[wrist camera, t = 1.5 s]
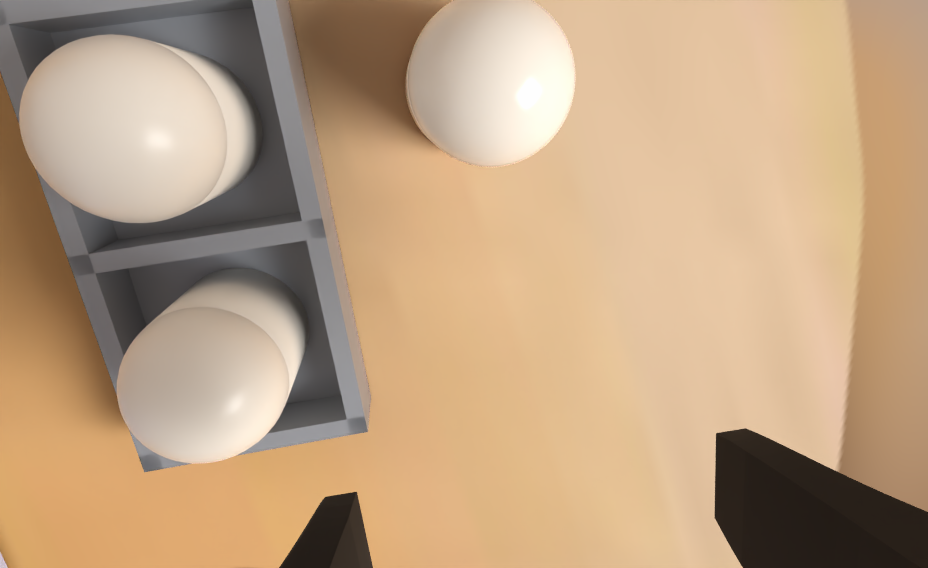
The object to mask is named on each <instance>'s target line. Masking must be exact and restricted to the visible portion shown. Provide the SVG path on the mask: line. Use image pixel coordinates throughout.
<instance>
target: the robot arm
mask: <svg viewBox="0 0 928 568" xmlns="http://www.w3.org/2000/svg"><path fill="white" fill-rule="evenodd" d="M715 519H716V521H717V523H718V525H719V526H720V528H721V530H722V532H723V534H724V536H725V538H726V539H727V541H728V543H729V545H730V547H731V548H732V550H733V552H734V553H735V555H736V557H737V559H738V560H739V562H740V564H741V565H742V567H743V568H928V512H926V511H924V510H921V509H919V508H917V507H914V506H912V505H910V504H907V503H905V502H903V501H900V500H898V499H895V498H893V497H891V496H889V495H886V494H884V493H882V492H880V491H877V490H875V489H873V488H871V487H869V486H866V485H864V484H862V483H860V482H858V481H856V480H853V479H851V478H849V477H847V476H845V475H843V474H841V473H839V472H837V471H834V470H832V469H830V468H828V467H826V466H824V465H822V464H820V463H818V462H816V461H814V460H812V459H810V458H808V457H806V456H804V455H802V454H800V453H798V452H795V451H793V450H791V449H789V448H787V447H785V446H783V445H781V444H779V443H777V442H775V441H773V440H771V439H769V438H766V437H764V436H762V435H760V434H758V433H755V432H753V431H750V430H748V429H740V430H734V431H727V432H721V433H716V473H715ZM0 568H8V567H7V565H6V563H5V561H4V559H3V557H2V555H1V553H0ZM279 568H373V566H372V561H371V557H370V552H369V547H368V543H367V538H366V533H365V528H364V524H363V519H362V514H361V510H360V505H359V500H358V495H357V492H353V493H347V494H341V495H334V496H328V497H325V498H324V499H323V501H322V502H321V503H320V505H319V506H318V508H317V510H316V511H315V513H314V514H313V516H312V518H311V519H310V521H309V523H308V524H307V526H306V527H305V529H304V531H303V532H302V534H301V535H300V537H299V539H298V540H297V542H296V543H295V545H294V546H293V548H292V550H291V551H290V553H289V554H288V556H287V557H286V559H285V560H284V562H283V563H282V564H281V566H280V567H279Z"/></svg>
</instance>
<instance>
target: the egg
mask: <svg viewBox="0 0 928 568" xmlns="http://www.w3.org/2000/svg"><path fill="white" fill-rule="evenodd" d="M574 90H575V65H574V58H573V54H572V51H571V47H570V45H569V42H568V40H567V37H566V35H565V34H564V32H563V30H562V28H561V27H560V25H559V24H558V23H557V21H556V20H555V19H554V18H553V16H552V15H551V14H550V13H549V12H548V11H547V10H545V9H544V8H543V7H542V6H540V5H539V4H538V3H536V2H534V1H533V0H453V1H451V2H449V3H448V4H447V5H445V6H444V7H443V8H441V9H440V10H439V11H438V12H437V13H436V14H435V15H434V16H433V17H432V18H431V19H430V20H429V21H428V23H427V24H426V25H425V27H424V28H423V30H422V31H421V33H420V35H419V36H418V38H417V41H416V43H415V45H414V48H413V51H412V54H411V57H410V61H409V64H408V67H407V72H406V79H405V91H406V99H407V103H408V107H409V110H410V113H411V115H412V117H413V119H414V121H415V123H416V125H417V126H418V128H419V129H420V130H421V132H422V133H423V134H424V135H425V136H426V137H427V138H428V139H429V140H430V141H431V142H432V143H433V144H435V145H436V146H437V147H438V148H439V149H440V150H441V151H443V152H444V153H446V154H447V155H449V156H450V157H452V158H454V159H456V160H459V161H461V162H464V163H467V164H470V165H475V166H480V167H501V166H507V165H511V164H514V163H517V162H520V161H523V160H524V159H526V158H528V157H530V156H532V155H533V154H535V153H536V152H538V151H539V150H541V149H542V148H543V147H544V146H545V145H546V144H548V143H549V142H550V141H551V139H552V138H553V137H554V136H555V135H556V134H557V132H558V131H559V129H560V128H561V126H562V125H563V123H564V121H565V119H566V117H567V115H568V113H569V110H570V107H571V104H572V100H573V96H574Z"/></svg>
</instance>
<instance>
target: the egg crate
mask: <svg viewBox="0 0 928 568" xmlns="http://www.w3.org/2000/svg"><path fill="white" fill-rule="evenodd" d="M0 72H1V75H2V78H3V80H4V83H5V86H6V89H7V91H8V94H9V97H10V100H11V103H12V105H13V108H14V111H15V114H16V116H17V119H18V122H19V125H20V131H21V137H22V140H23V143H24V147H25V149H26V151H27V154H28V156H29V158H30V160H31V162H32V163H33V165H34V167H35V169H36V172H37V175H38V178H39V180H40V183H41V186H42V189H43V191H44V194H45V197H46V200H47V203H48V205H49V208H50V211H51V214H52V216H53V219H54V222H55V225H56V228H57V230H58V233H59V236H60V239H61V241H62V244H63V247H64V250H65V253H66V255H67V258H68V261H69V264H70V267H71V269H72V272H73V275H74V278H75V280H76V283H77V286H78V289H79V292H80V294H81V297H82V300H83V303H84V305H85V308H86V311H87V314H88V317H89V319H90V322H91V325H92V328H93V330H94V333H95V336H96V339H97V342H98V344H99V347H100V350H101V353H102V355H103V358H104V361H105V364H106V367H107V369H108V372H109V375H110V378H111V380H112V383H113V386H114V389H115V392H116V394H117V398H118V405H119V409H120V412H121V415H122V417H123V419H124V422H125V423H126V425H127V426H128V428H129V430H130V433H131V436H132V439H133V442H134V444H135V447H136V450H137V453H138V455H139V458H140V461H141V464H142V467H143V469H144V472H148V471H153V470H159V469H164V468H170V467H175V466H181V465H187V464H192V463H211V462H217V461H221V460H225V459H228V458H230V457H233V456H236V455H242V454H247V453H253V452H259V451H264V450H270V449H275V448H281V447H286V446H292V445H297V444H303V443H308V442H314V441H319V440H325V439H330V438H336V437H342V436H347V435H353V434H358V433H364V432H368V425H369V413H370V401H371V395H370V390H369V385H368V380H367V375H366V371H365V366H364V361H363V356H362V351H361V347H360V342H359V337H358V332H357V327H356V323H355V318H354V313H353V308H352V303H351V298H350V294H349V289H348V284H347V279H346V274H345V270H344V265H343V260H342V255H341V250H340V246H339V241H338V236H337V231H336V226H335V222H334V217H333V212H332V207H331V202H330V198H329V193H328V188H327V183H326V178H325V173H324V169H323V164H322V159H321V154H320V149H319V145H318V140H317V135H316V130H315V125H314V121H313V116H312V111H311V106H310V101H309V97H308V92H307V87H306V82H305V77H304V73H303V68H302V63H301V58H300V53H299V48H298V44H297V39H296V34H295V29H294V24H293V20H292V15H291V10H290V5H289V0H0Z"/></svg>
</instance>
